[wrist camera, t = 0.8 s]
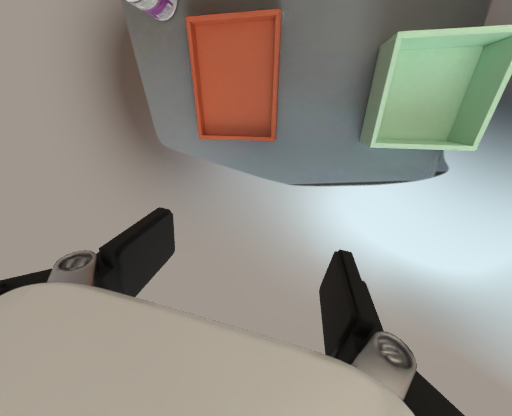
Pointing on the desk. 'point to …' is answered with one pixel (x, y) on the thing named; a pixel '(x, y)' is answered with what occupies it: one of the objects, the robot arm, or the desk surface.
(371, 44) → the desk surface
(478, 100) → the sage bin
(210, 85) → the orange tray
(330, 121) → the desk surface
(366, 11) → the desk surface
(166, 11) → the pill bottle
